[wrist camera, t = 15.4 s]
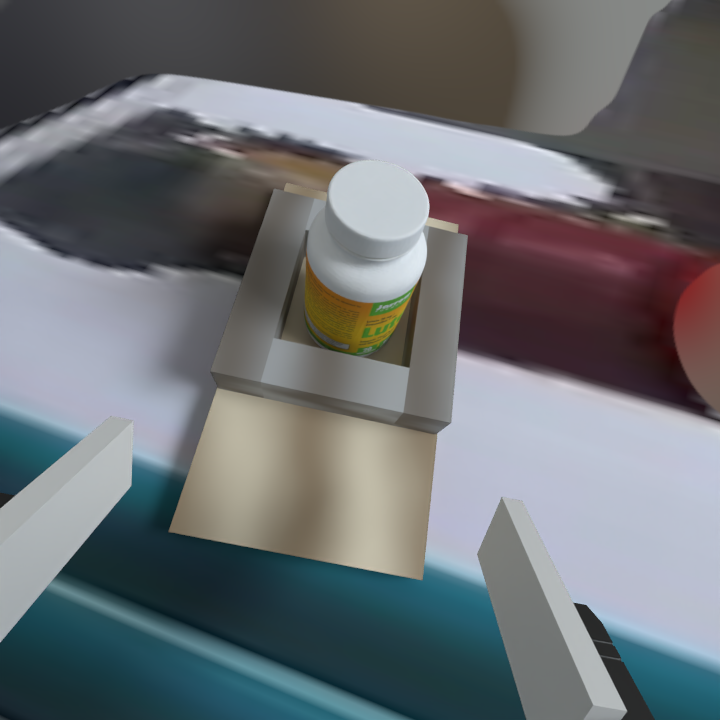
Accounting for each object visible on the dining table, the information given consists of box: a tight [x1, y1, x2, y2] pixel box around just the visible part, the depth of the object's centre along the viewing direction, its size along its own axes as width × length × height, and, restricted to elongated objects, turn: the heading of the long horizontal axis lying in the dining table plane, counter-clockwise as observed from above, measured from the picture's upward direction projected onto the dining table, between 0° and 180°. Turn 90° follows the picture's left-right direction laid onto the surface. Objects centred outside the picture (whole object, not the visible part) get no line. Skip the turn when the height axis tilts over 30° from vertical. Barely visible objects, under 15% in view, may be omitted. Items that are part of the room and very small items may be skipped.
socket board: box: [169, 183, 467, 580], centre depth 23 cm, size 12×22×4 cm, turn 170°
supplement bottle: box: [304, 160, 429, 357], centre depth 20 cm, size 5×5×10 cm
